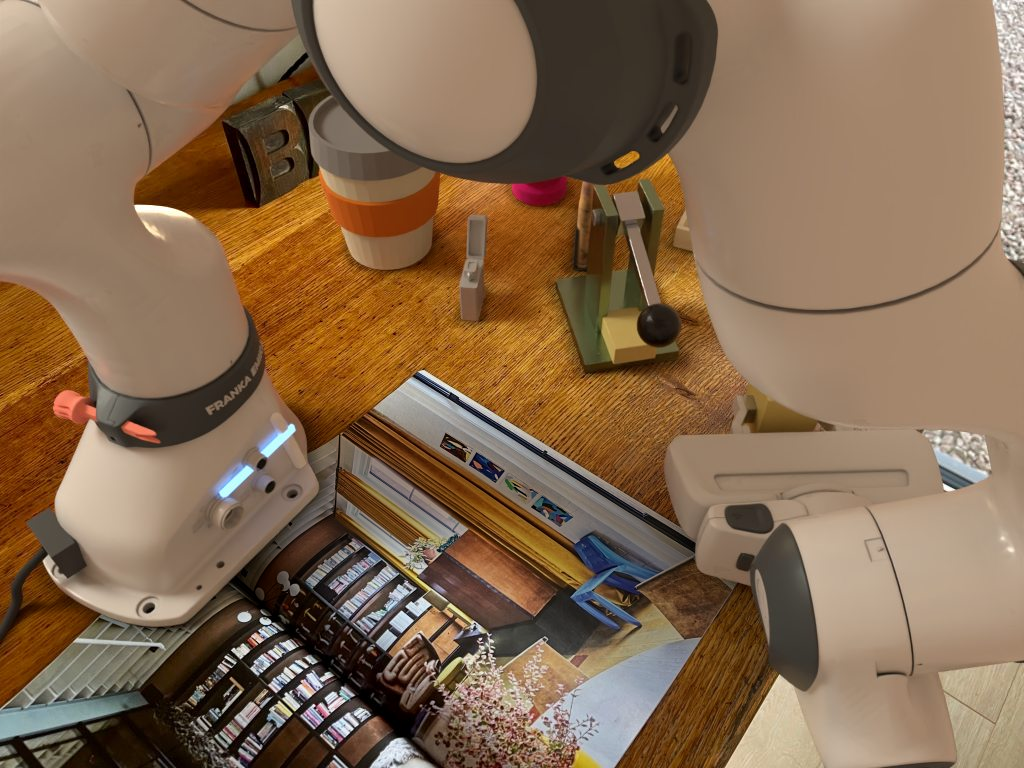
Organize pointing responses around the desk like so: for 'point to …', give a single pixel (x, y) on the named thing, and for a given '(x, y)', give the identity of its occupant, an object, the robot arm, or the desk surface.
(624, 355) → the butter slab
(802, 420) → the butter
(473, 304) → the lighter
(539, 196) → the pepper mill
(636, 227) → the lever
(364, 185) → the reusable coffee cup
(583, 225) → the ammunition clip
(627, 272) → the slicer
